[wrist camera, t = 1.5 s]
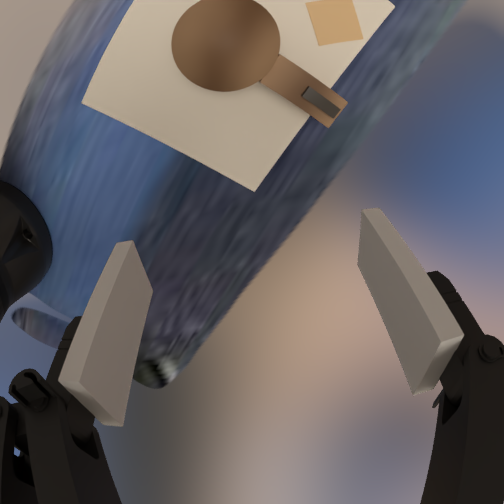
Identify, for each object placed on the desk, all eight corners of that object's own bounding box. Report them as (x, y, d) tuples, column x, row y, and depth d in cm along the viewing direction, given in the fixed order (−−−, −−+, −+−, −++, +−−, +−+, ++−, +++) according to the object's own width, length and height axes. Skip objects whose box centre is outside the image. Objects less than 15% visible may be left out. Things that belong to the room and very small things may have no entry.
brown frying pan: (166, 61, 21) (152, 62, 17) (213, -9, 18) (208, -22, 14) (301, 138, 26) (313, 155, 22) (348, 75, 22) (370, 81, 18)
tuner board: (86, 100, 23) (80, 103, 22) (216, -95, 13) (215, -100, 12) (253, 186, 30) (254, 192, 29) (389, 7, 19) (395, 6, 18)
